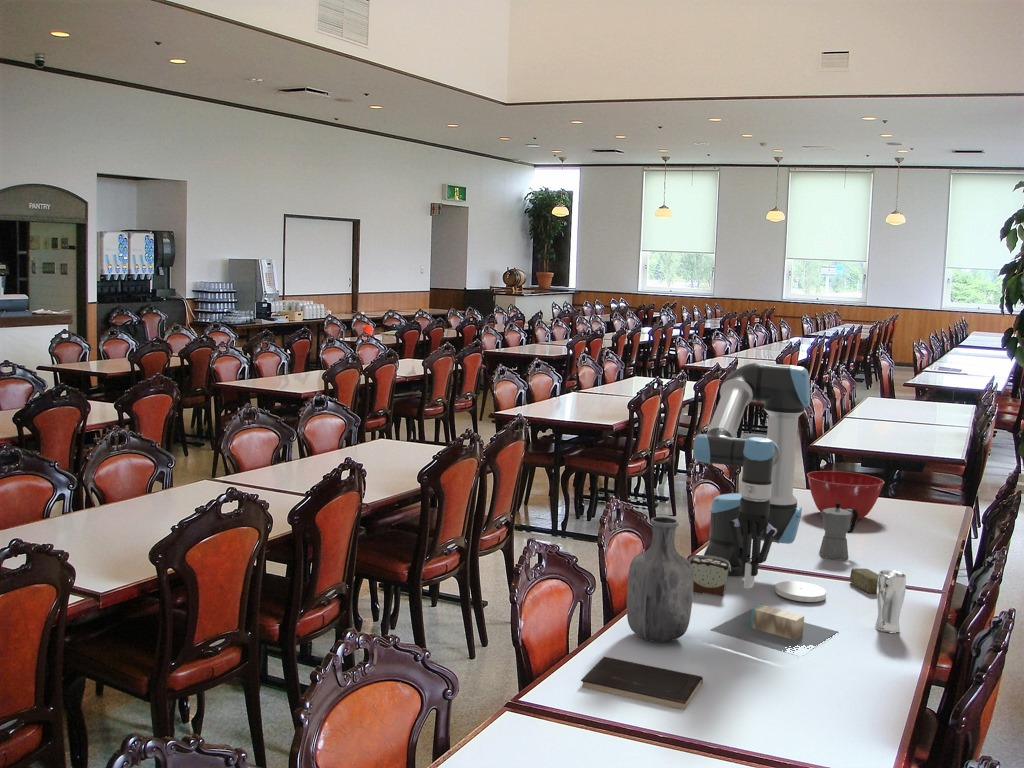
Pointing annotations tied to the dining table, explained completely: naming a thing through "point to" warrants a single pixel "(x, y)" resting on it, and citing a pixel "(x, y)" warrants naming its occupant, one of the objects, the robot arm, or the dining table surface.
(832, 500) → the mixing bowl
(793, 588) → the plastic lid
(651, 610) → the vase
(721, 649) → the dining table surface
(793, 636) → the maple block
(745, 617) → the mat
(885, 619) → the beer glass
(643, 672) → the hardcover book
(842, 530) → the coffeepot
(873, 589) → the stone block
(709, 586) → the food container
